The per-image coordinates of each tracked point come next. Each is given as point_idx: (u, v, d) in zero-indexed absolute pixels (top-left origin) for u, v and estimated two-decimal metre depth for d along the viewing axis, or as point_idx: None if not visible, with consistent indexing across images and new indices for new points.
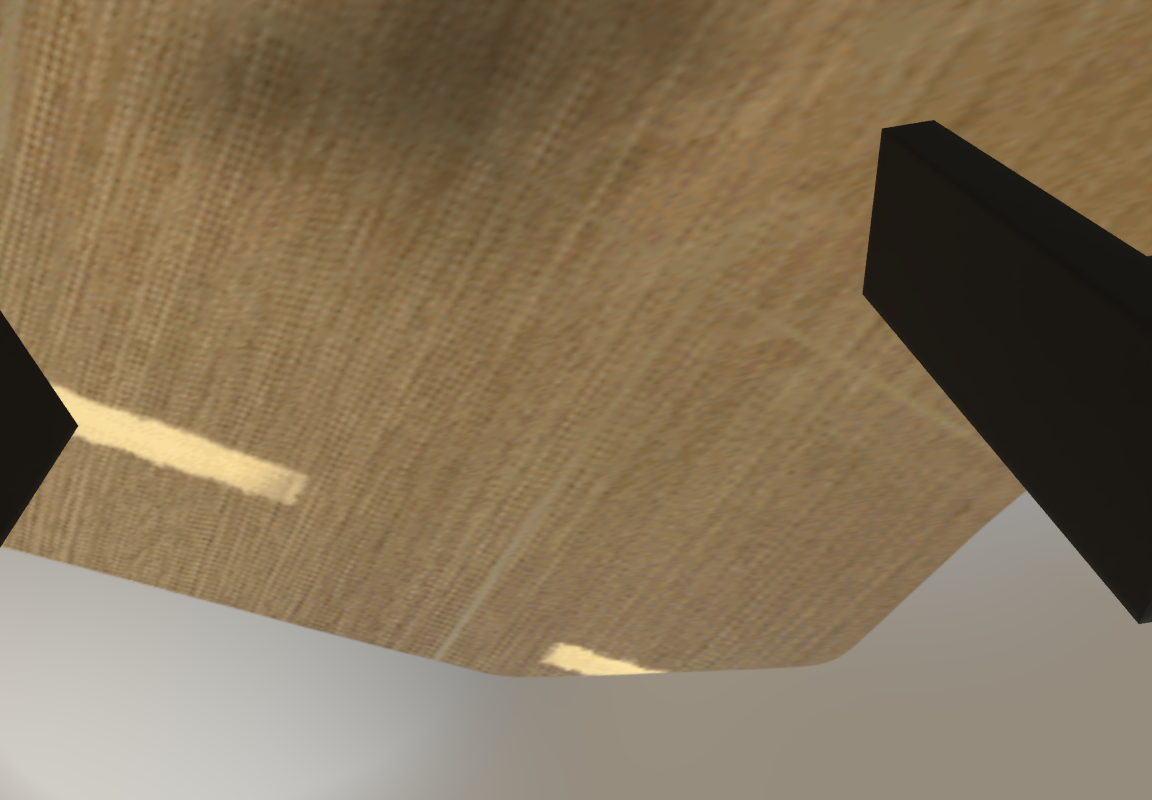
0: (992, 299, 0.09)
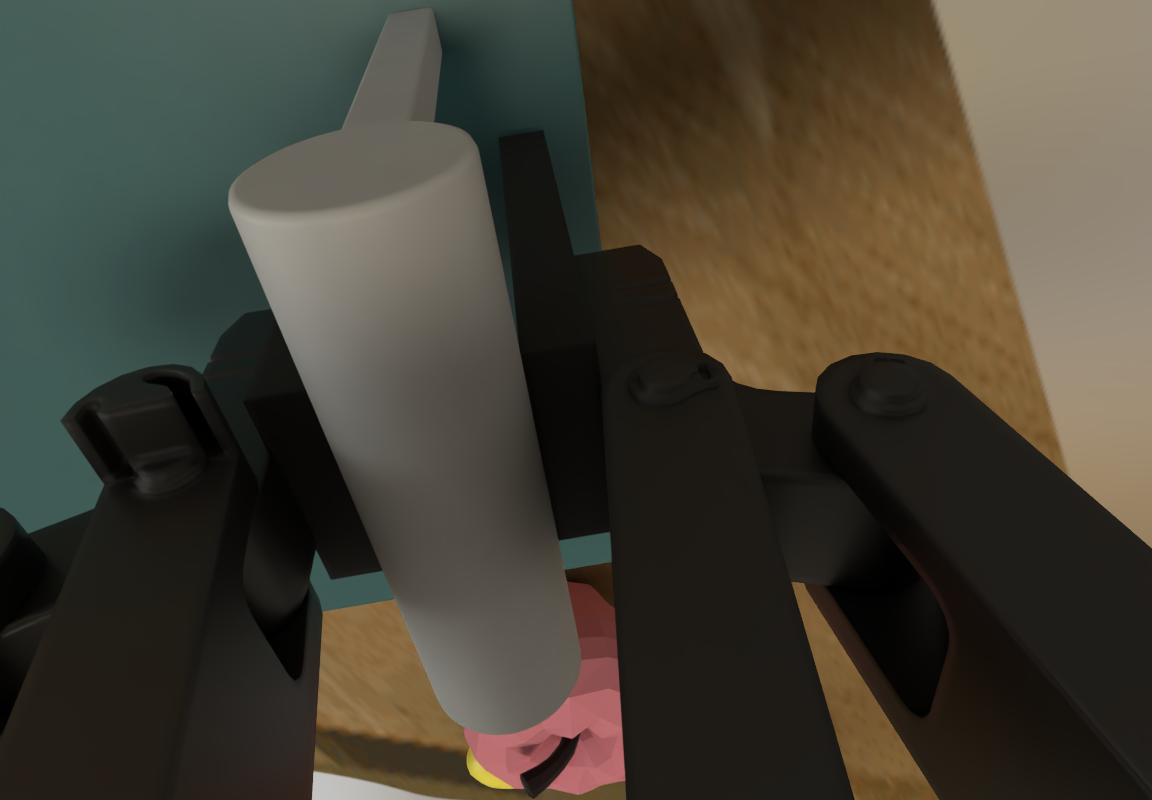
0: None
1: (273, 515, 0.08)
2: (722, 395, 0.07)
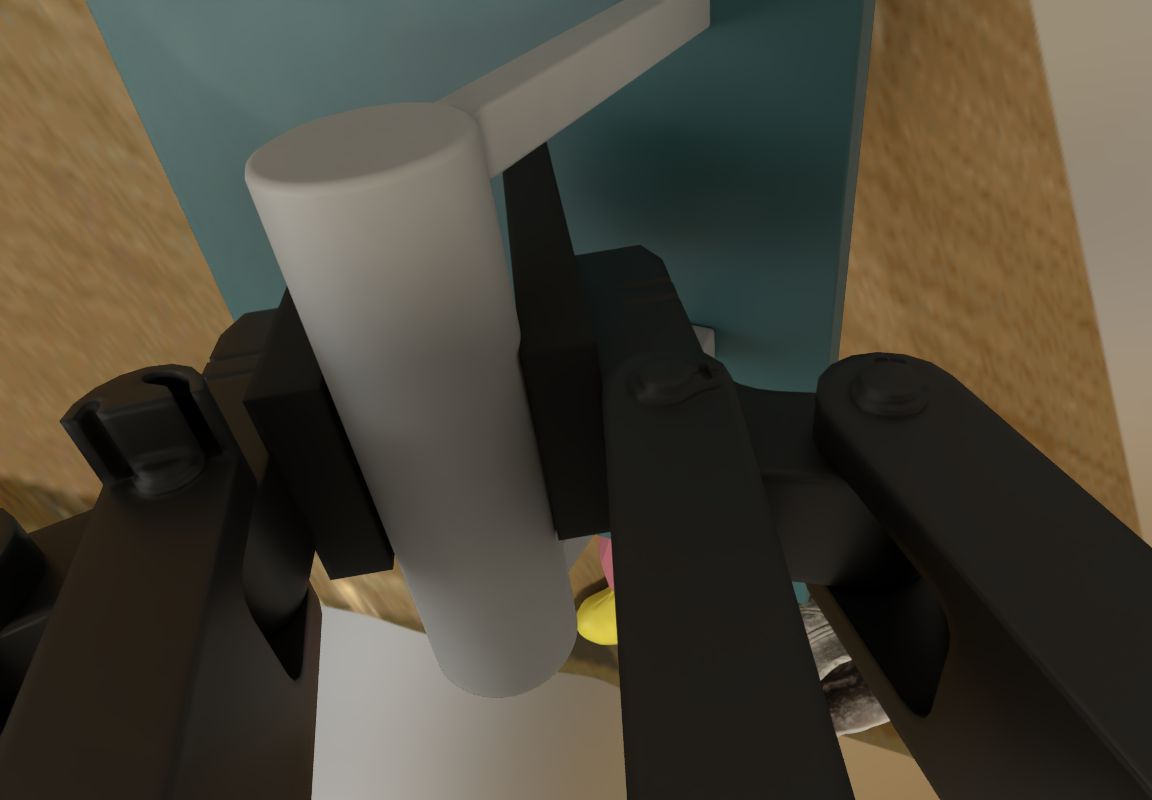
0: None
1: (273, 515, 0.08)
2: (723, 395, 0.07)
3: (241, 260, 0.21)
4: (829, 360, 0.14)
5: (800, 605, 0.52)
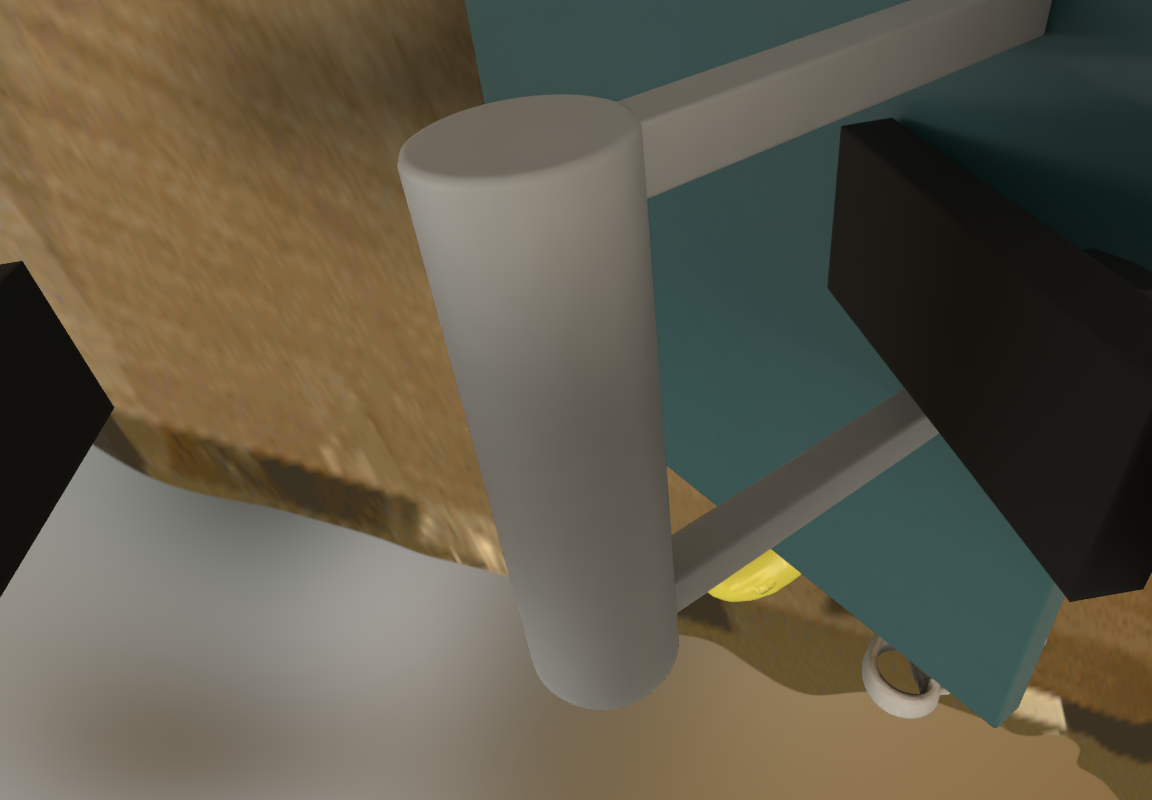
0: (939, 290, 0.09)
1: None
2: None
3: None
4: None
5: None
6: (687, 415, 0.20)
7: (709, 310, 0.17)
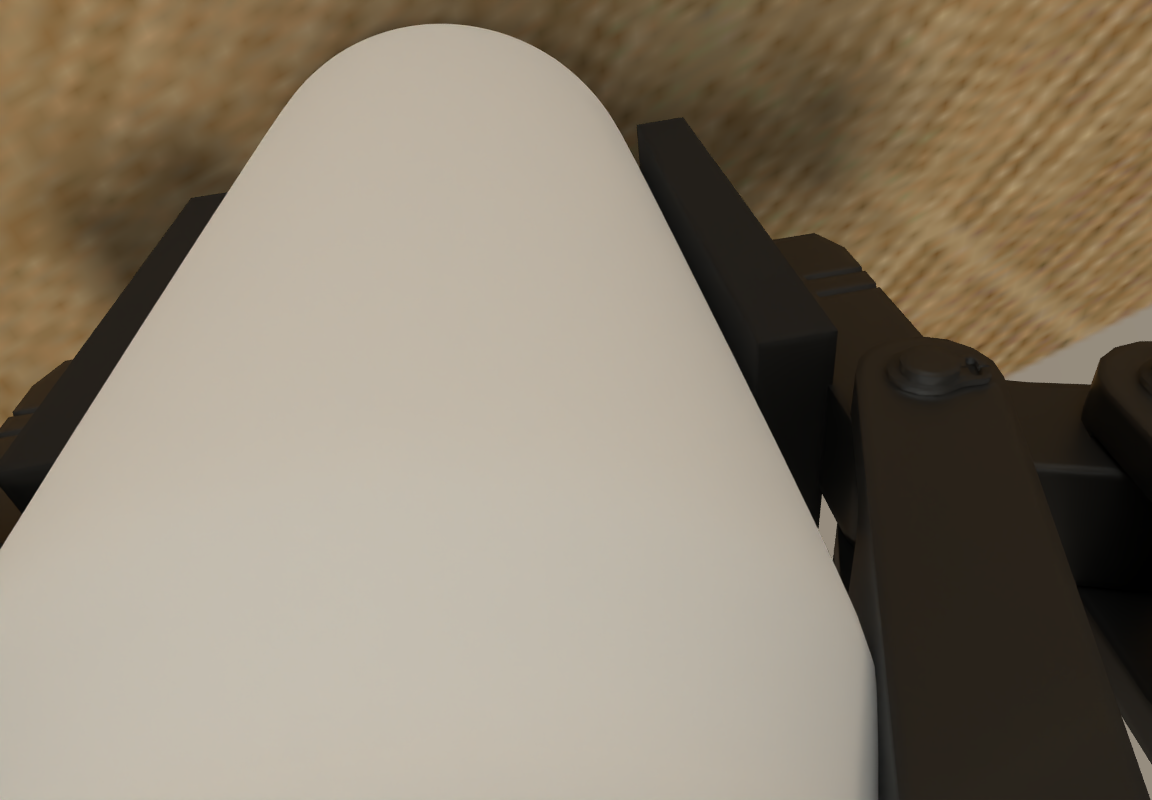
0: None
1: None
2: (993, 393, 0.06)
3: None
4: None
5: None
6: None
7: None
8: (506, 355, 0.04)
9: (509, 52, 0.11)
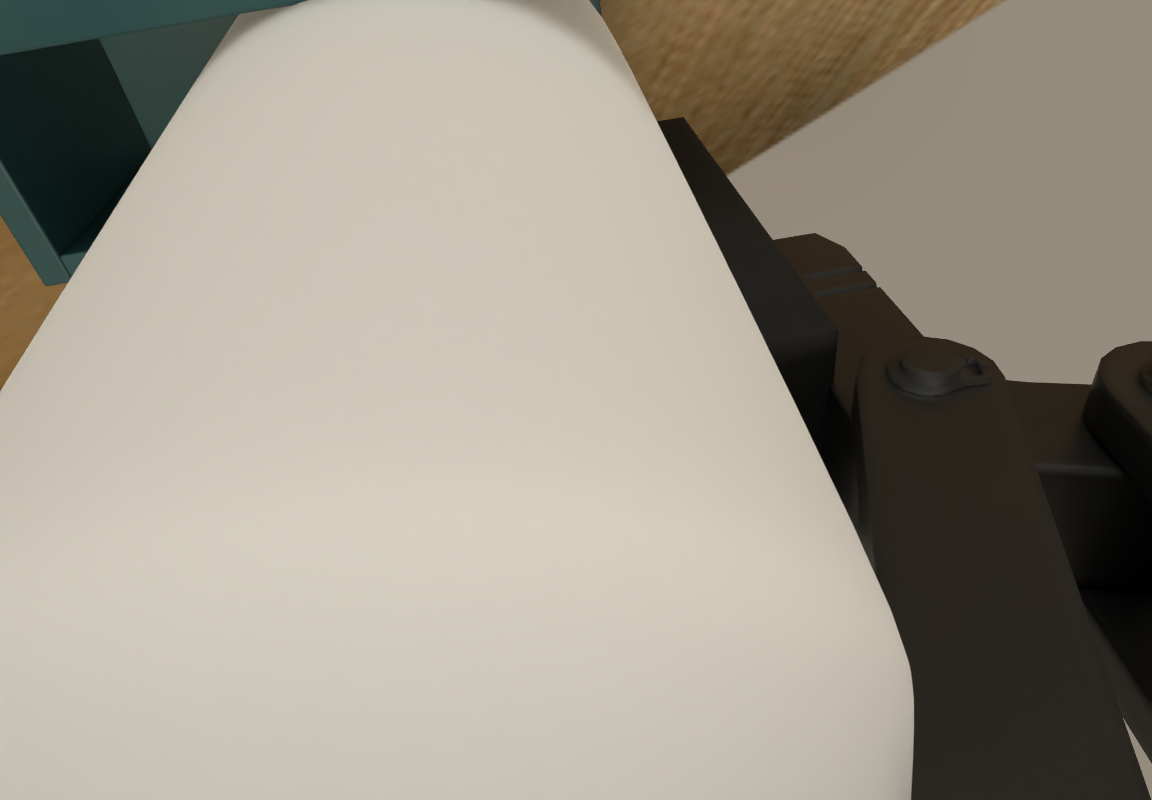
0: None
1: None
2: (993, 393, 0.06)
3: None
4: None
5: None
6: None
7: None
8: (726, 392, 0.04)
9: (585, 7, 0.10)
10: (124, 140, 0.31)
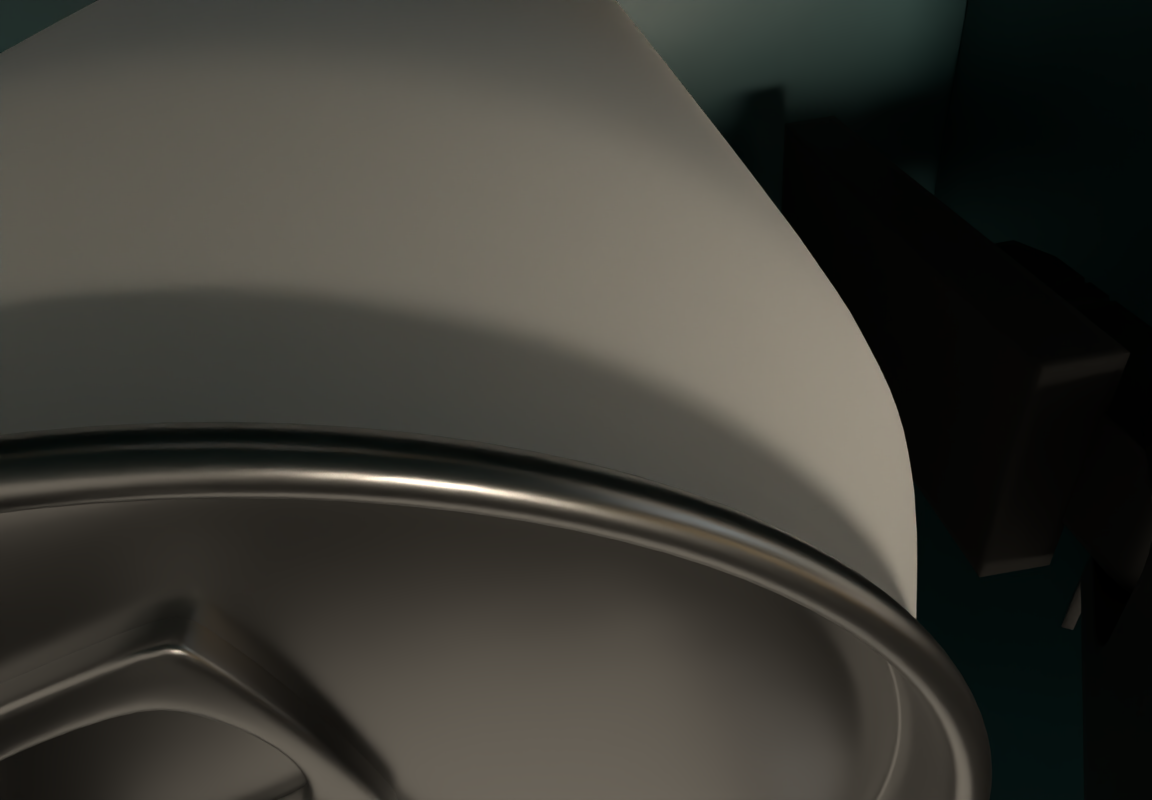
0: (867, 281, 0.10)
1: None
2: None
3: None
4: None
5: None
6: None
7: None
8: (701, 132, 0.04)
9: None
10: None
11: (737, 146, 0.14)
